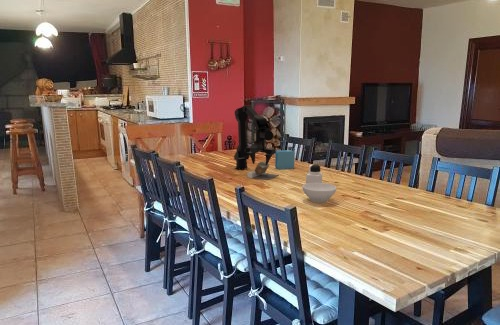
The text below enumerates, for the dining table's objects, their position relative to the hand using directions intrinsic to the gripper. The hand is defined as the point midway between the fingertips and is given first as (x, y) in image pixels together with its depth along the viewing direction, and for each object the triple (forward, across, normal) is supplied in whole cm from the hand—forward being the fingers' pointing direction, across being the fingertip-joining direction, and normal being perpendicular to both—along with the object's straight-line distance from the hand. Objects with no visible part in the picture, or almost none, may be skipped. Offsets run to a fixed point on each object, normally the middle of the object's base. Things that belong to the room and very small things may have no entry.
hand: (260, 164), depth 232 cm
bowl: (+8, +51, -30) cm, 60 cm away
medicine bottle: (+8, +38, -6) cm, 39 cm away
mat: (+7, +4, 0) cm, 8 cm away
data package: (+7, +2, +28) cm, 29 cm away
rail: (+7, -2, 0) cm, 8 cm away
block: (+5, 0, 0) cm, 5 cm away
